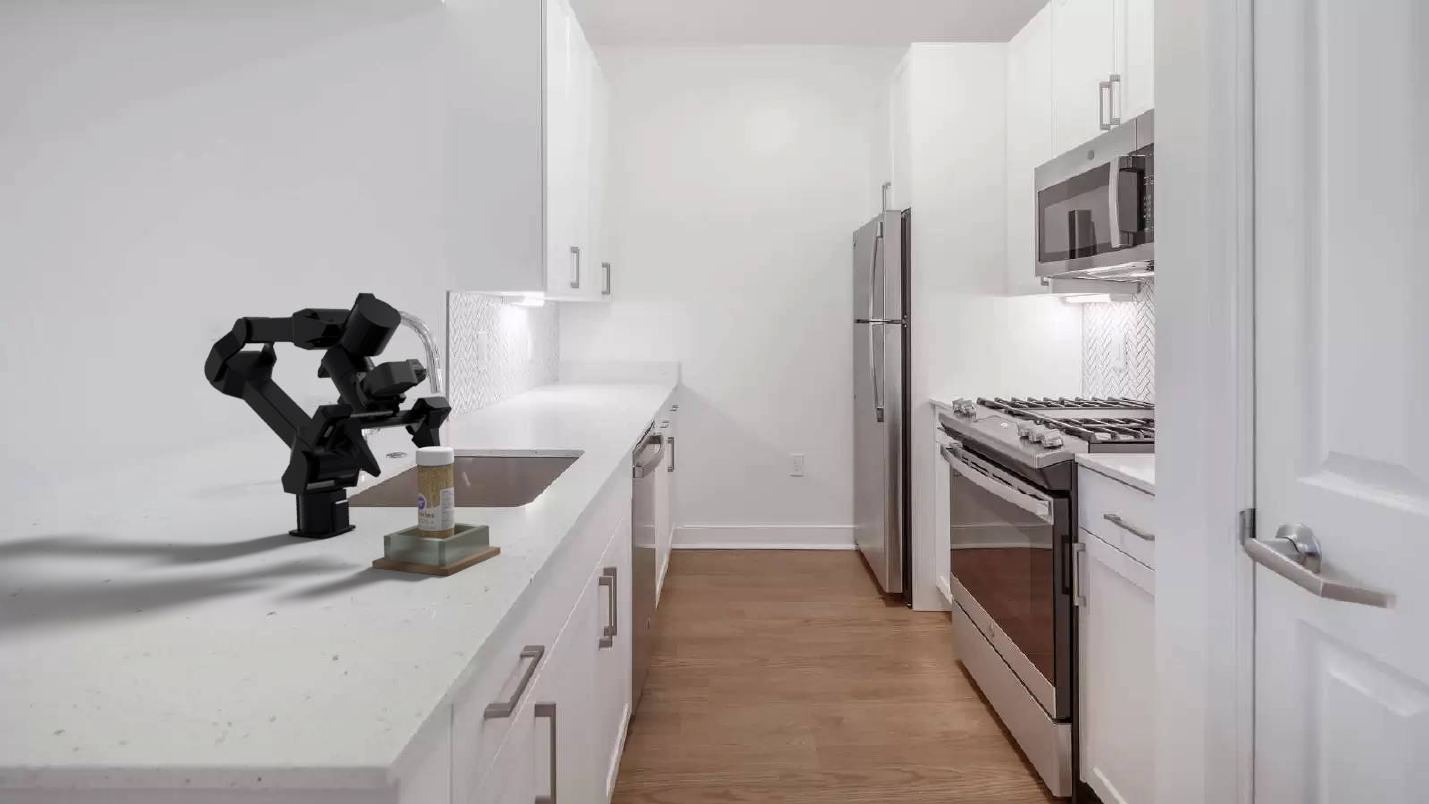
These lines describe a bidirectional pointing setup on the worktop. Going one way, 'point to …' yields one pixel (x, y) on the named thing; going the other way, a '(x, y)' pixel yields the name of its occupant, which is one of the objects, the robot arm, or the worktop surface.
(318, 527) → the robot arm
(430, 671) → the worktop surface
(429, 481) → the sprinkles bottle
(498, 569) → the worktop surface
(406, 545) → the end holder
